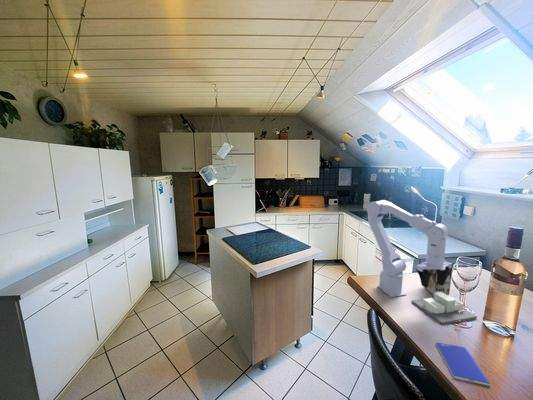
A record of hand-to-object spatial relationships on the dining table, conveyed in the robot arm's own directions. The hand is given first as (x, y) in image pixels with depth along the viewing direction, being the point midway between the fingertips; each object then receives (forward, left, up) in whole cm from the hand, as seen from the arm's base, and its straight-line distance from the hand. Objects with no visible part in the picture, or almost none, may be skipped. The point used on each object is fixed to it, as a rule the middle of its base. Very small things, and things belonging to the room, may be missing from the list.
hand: (432, 285), depth 91 cm
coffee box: (-10, +14, -11) cm, 20 cm away
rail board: (+2, +4, -10) cm, 11 cm away
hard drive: (+24, -14, -11) cm, 30 cm away
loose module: (+2, +4, -9) cm, 10 cm away
